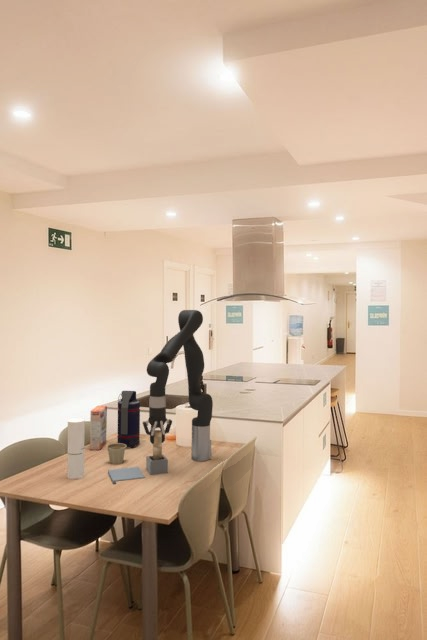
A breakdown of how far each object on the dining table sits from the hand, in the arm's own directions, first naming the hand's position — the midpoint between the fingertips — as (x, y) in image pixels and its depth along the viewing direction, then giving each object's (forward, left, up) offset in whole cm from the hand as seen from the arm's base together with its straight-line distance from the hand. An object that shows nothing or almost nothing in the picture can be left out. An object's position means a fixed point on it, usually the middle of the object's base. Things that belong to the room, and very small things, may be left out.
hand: (157, 442), depth 217 cm
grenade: (+4, -46, -14) cm, 48 cm away
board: (+14, 0, -14) cm, 20 cm away
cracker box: (+19, -50, -14) cm, 56 cm away
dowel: (0, 0, -8) cm, 8 cm away
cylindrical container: (+35, -8, -14) cm, 39 cm away
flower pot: (+15, -19, -14) cm, 28 cm away
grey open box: (0, 0, -14) cm, 14 cm away
